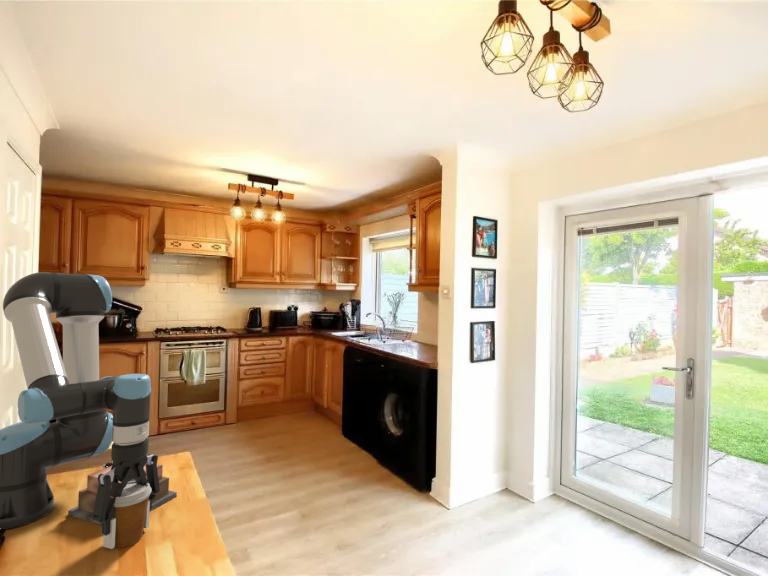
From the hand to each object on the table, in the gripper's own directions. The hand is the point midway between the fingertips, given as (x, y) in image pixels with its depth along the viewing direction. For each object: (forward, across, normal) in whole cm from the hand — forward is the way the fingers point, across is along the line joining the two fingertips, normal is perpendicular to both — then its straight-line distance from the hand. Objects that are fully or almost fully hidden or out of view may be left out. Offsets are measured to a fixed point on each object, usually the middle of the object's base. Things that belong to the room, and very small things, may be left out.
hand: (127, 536), depth 96 cm
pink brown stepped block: (+1, +11, +15) cm, 19 cm away
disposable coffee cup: (+1, 0, 0) cm, 1 cm away
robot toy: (+1, +26, +33) cm, 42 cm away
